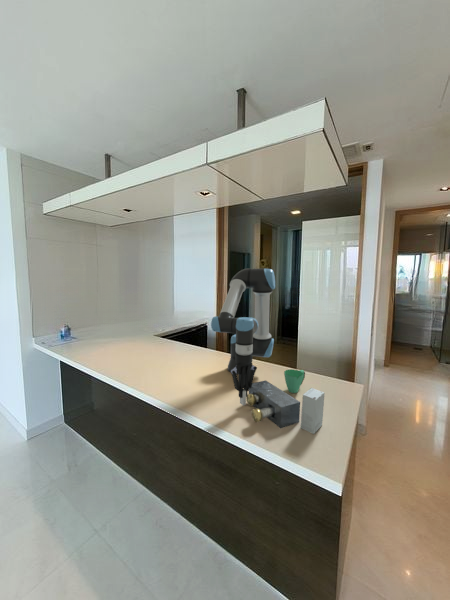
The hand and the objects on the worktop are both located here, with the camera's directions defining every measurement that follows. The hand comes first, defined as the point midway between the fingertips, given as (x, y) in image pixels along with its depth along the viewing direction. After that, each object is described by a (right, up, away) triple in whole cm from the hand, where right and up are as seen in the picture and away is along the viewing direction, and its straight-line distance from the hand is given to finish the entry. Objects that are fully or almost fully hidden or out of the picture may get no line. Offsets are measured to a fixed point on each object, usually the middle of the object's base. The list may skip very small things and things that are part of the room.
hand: (242, 403), depth 117 cm
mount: (+13, -4, +1) cm, 14 cm away
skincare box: (+27, -6, -11) cm, 30 cm away
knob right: (+10, -3, -8) cm, 13 cm away
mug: (+30, -2, +23) cm, 38 cm away
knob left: (+9, -1, +5) cm, 10 cm away
